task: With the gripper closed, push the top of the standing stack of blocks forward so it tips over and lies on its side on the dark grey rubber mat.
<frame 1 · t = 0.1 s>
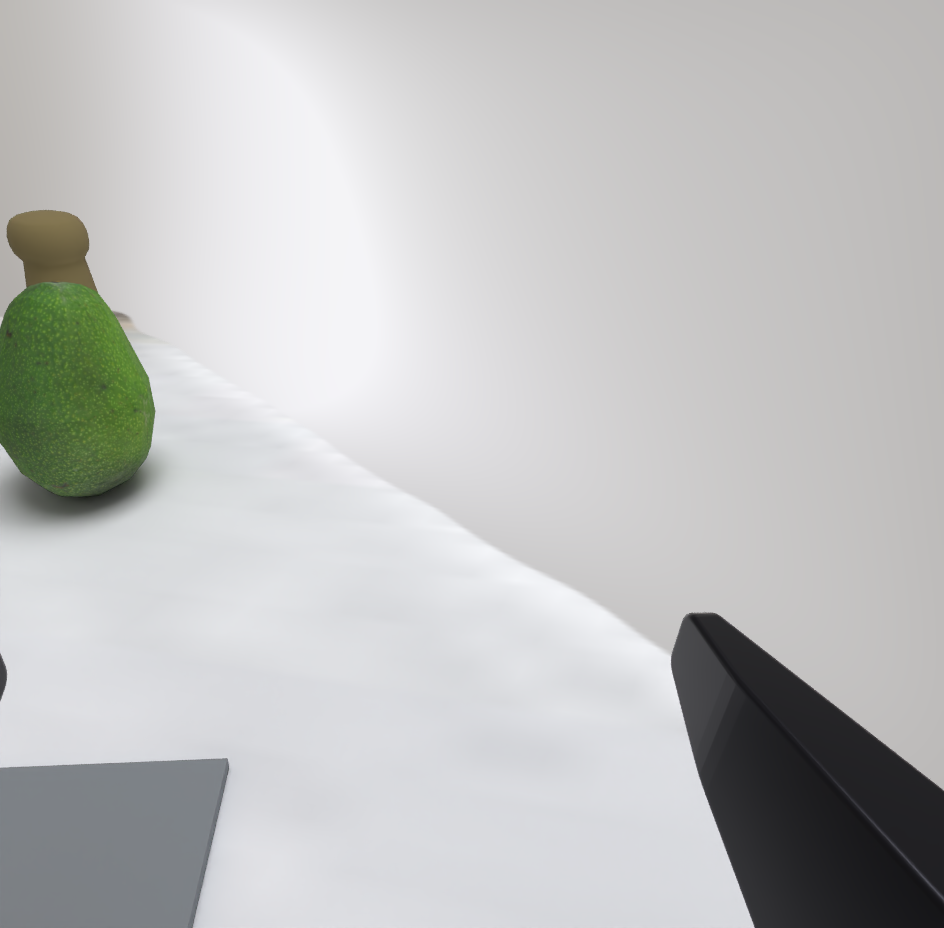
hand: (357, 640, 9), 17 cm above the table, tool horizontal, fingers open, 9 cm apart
cork: (79, 356, 55), on the table
avocado: (95, 486, 40), on the table
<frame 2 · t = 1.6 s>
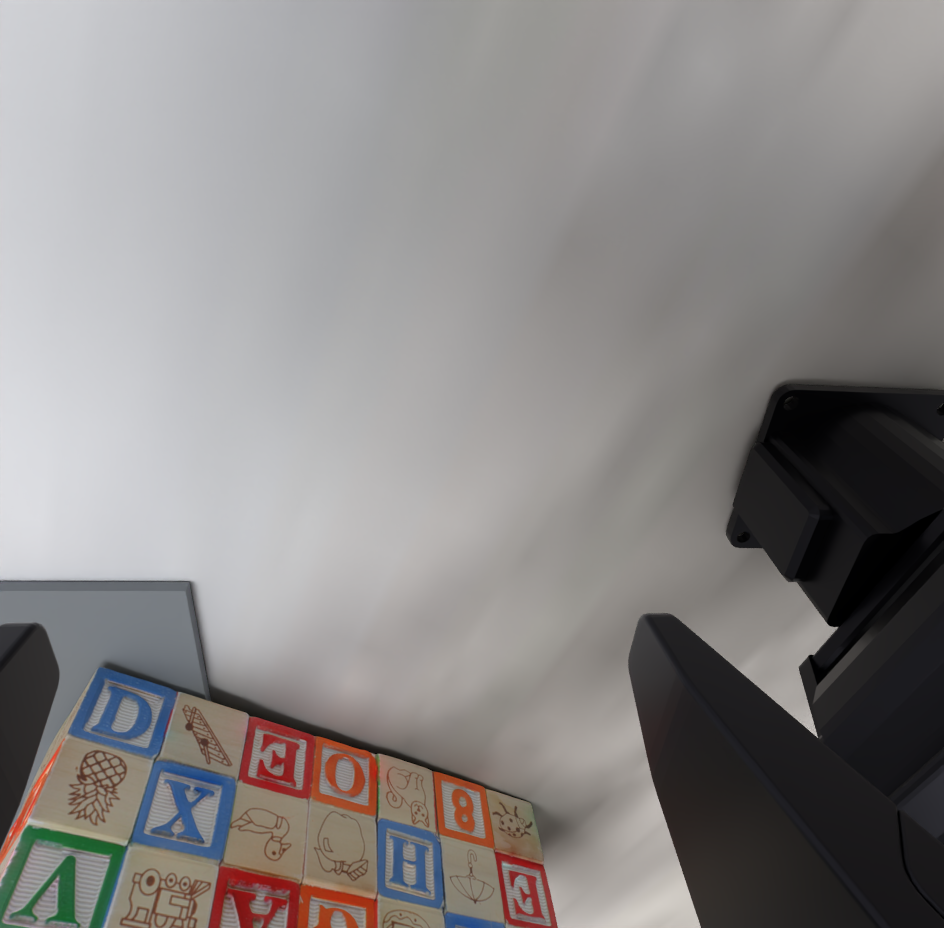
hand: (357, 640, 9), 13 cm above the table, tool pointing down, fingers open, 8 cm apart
stack of blocks: (313, 776, 31), on the table, touching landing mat
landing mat: (84, 779, 30), on the table
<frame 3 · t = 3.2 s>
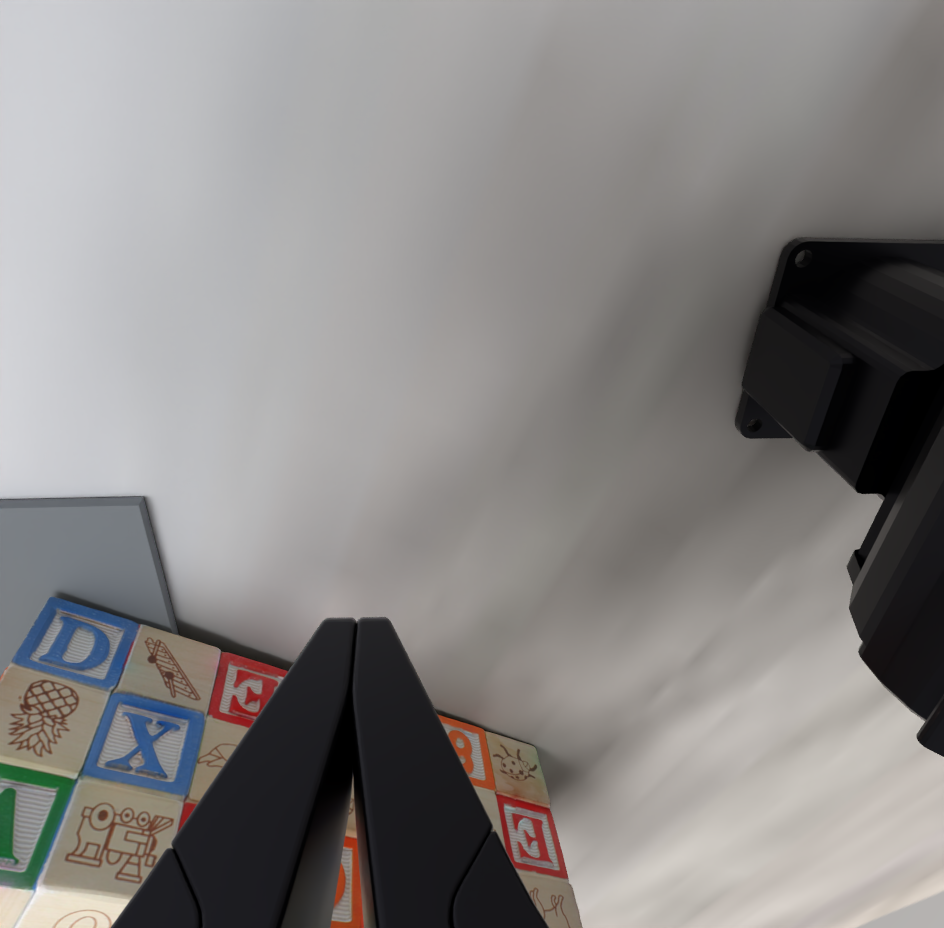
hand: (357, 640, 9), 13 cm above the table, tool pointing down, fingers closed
stack of blocks: (298, 721, 29), on the table, touching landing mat
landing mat: (50, 731, 28), on the table
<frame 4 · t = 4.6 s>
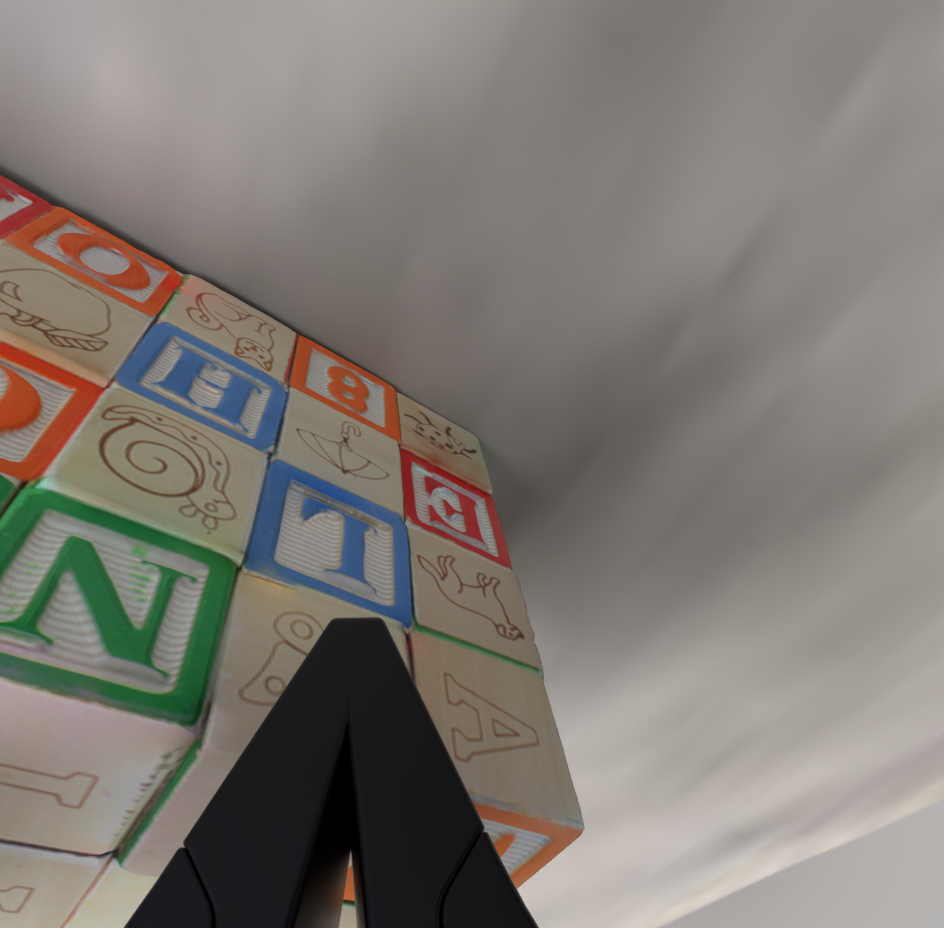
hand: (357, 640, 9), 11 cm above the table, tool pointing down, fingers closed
stack of blocks: (85, 336, 18), on the table, touching gripper, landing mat
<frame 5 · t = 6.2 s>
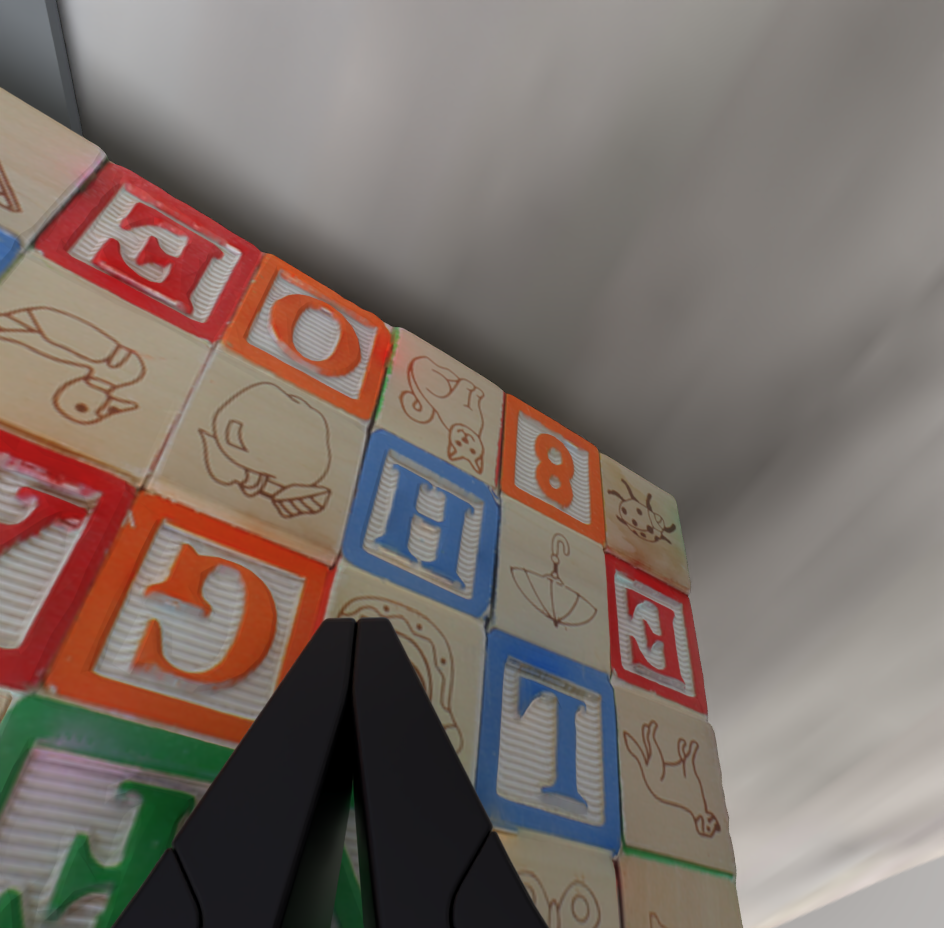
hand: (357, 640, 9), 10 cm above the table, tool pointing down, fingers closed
stack of blocks: (279, 364, 16), point 1 cm above the table, touching gripper, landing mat
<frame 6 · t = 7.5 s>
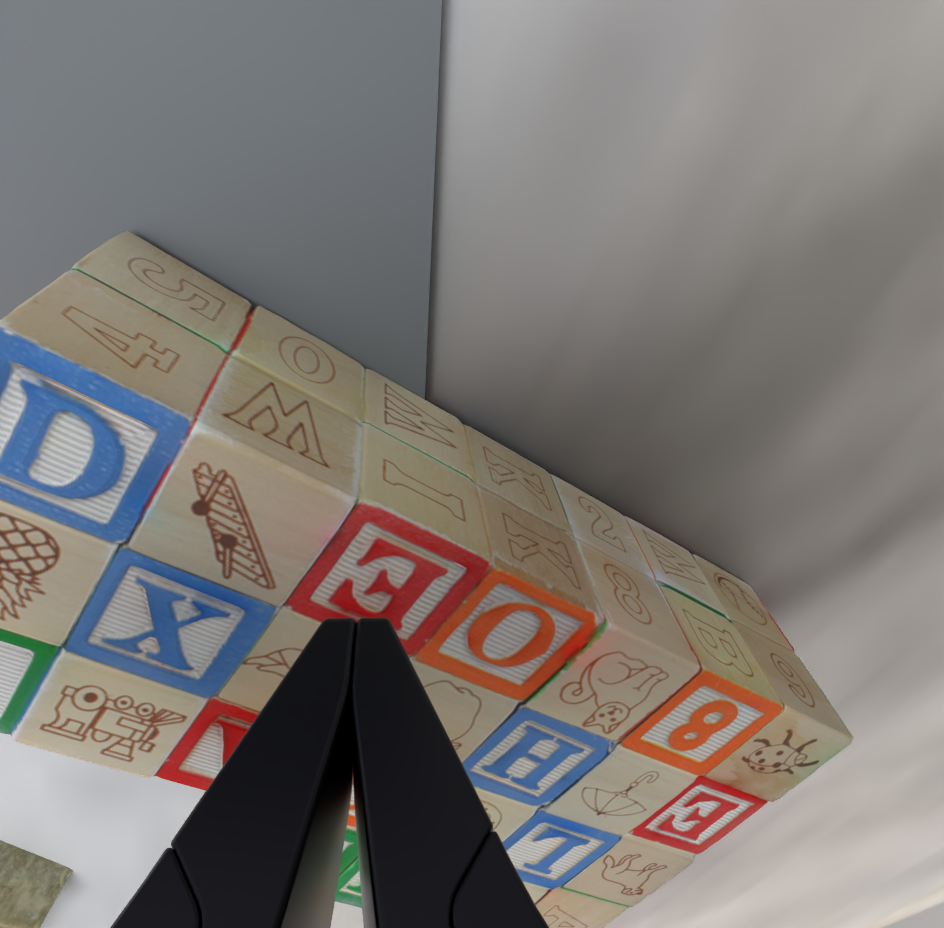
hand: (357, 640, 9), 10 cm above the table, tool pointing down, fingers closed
stack of blocks: (534, 500, 16), point 3 cm above the table, touching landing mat
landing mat: (186, 336, 17), on the table
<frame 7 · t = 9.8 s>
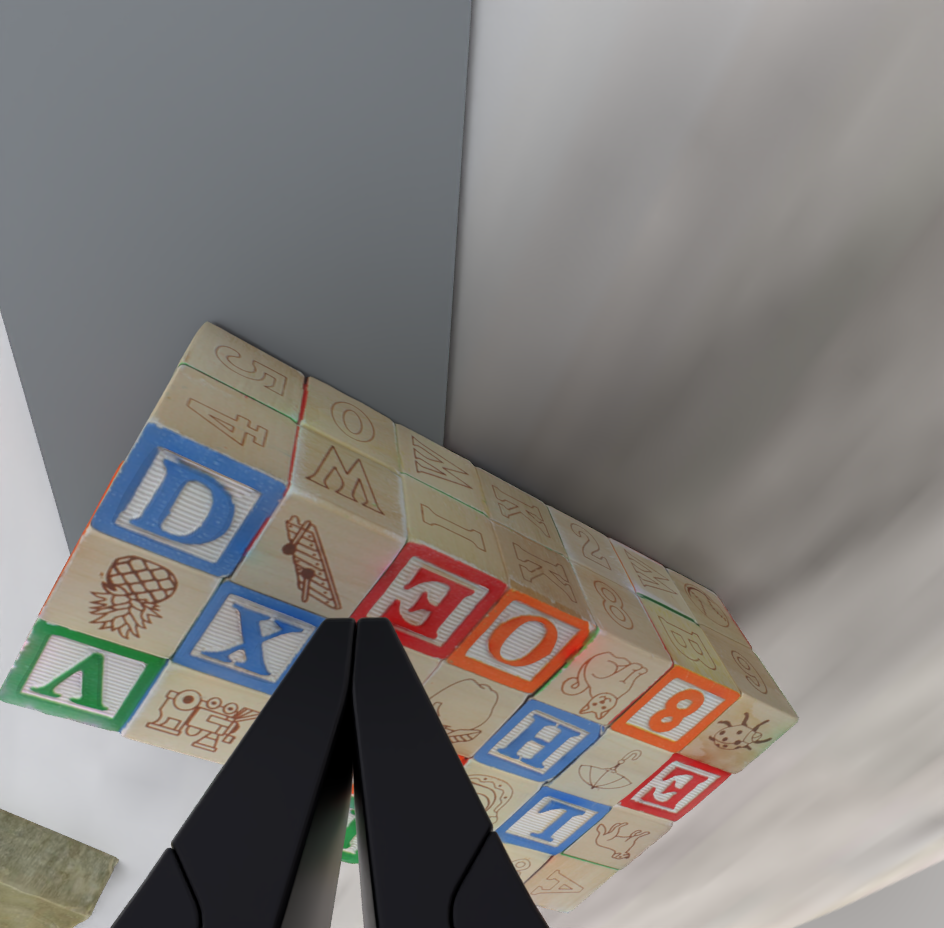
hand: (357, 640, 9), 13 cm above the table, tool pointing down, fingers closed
stack of blocks: (536, 530, 20), point 3 cm above the table, touching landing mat
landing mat: (247, 398, 20), on the table
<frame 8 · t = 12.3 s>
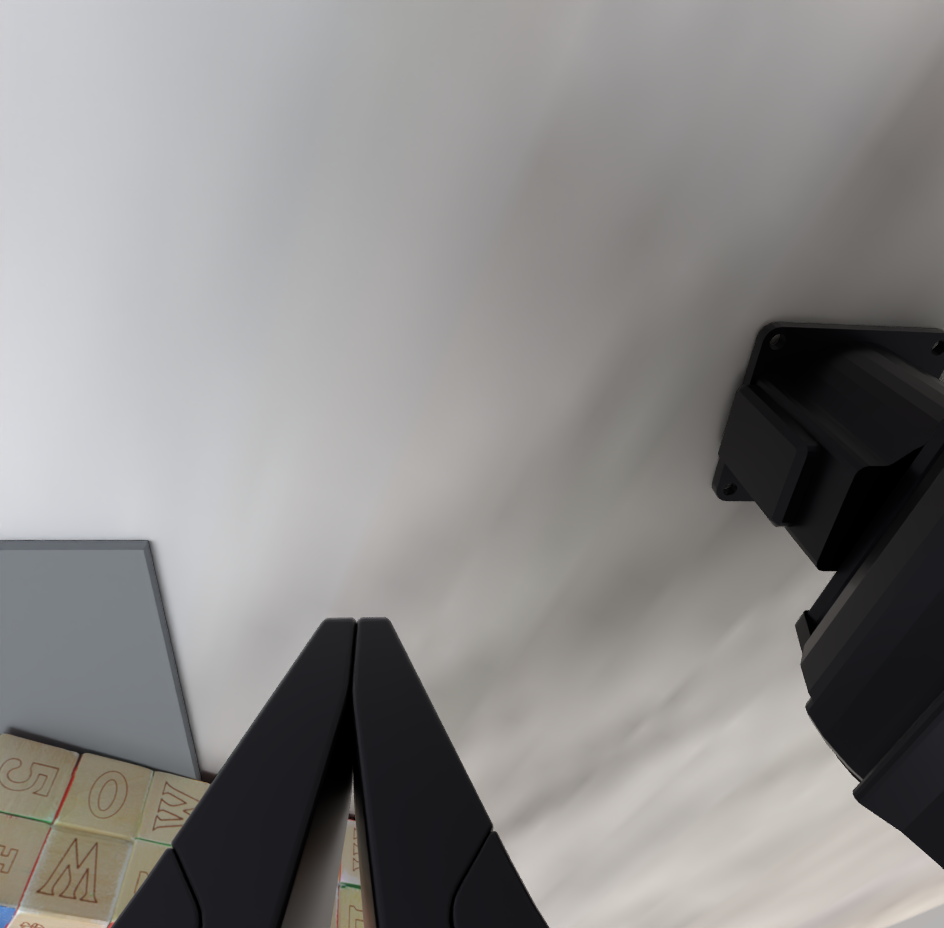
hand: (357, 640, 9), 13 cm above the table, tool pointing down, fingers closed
stack of blocks: (248, 858, 28), point 3 cm above the table, touching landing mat
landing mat: (47, 755, 29), on the table
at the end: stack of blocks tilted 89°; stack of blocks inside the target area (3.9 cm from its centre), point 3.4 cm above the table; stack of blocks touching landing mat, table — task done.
